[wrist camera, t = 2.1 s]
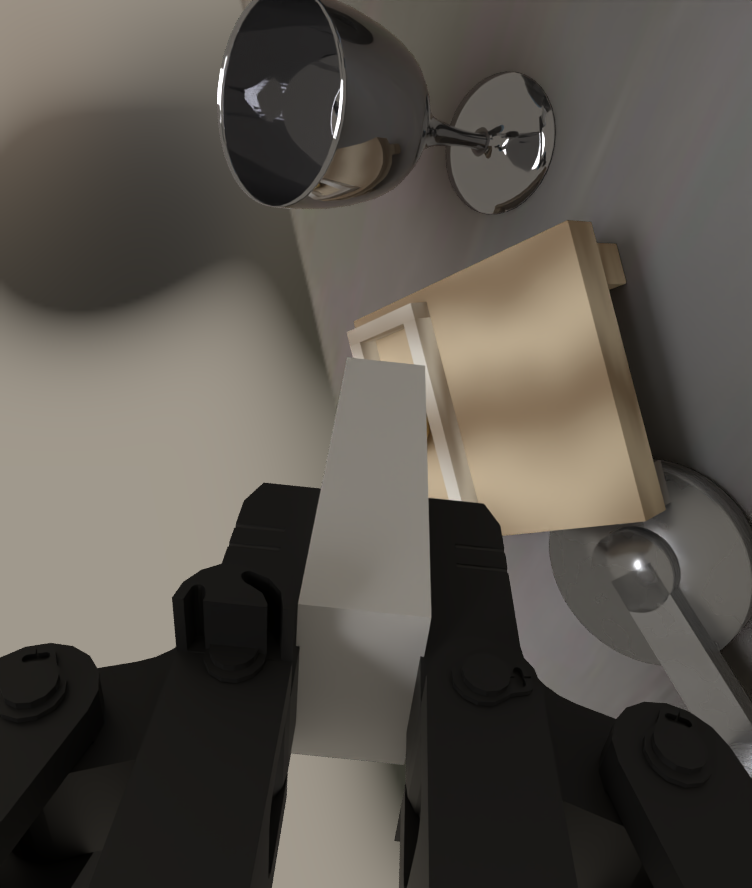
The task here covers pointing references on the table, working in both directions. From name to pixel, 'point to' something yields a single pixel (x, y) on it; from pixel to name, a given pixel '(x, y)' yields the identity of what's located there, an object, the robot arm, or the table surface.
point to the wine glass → (364, 114)
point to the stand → (527, 385)
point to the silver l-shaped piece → (671, 595)
